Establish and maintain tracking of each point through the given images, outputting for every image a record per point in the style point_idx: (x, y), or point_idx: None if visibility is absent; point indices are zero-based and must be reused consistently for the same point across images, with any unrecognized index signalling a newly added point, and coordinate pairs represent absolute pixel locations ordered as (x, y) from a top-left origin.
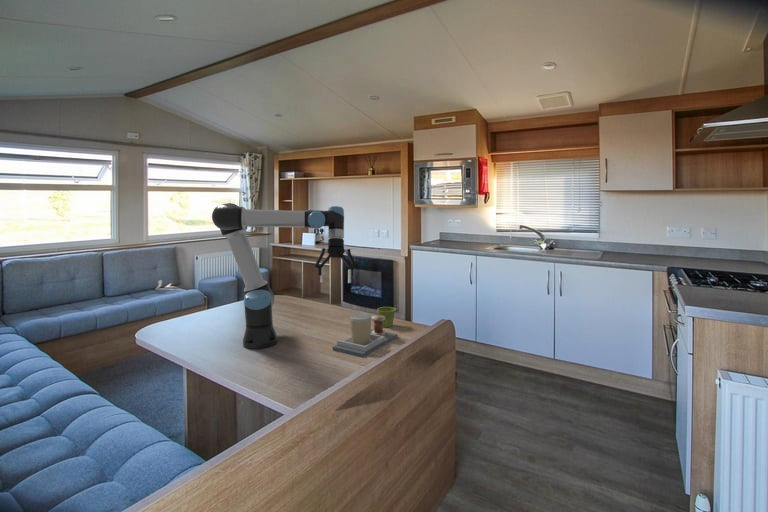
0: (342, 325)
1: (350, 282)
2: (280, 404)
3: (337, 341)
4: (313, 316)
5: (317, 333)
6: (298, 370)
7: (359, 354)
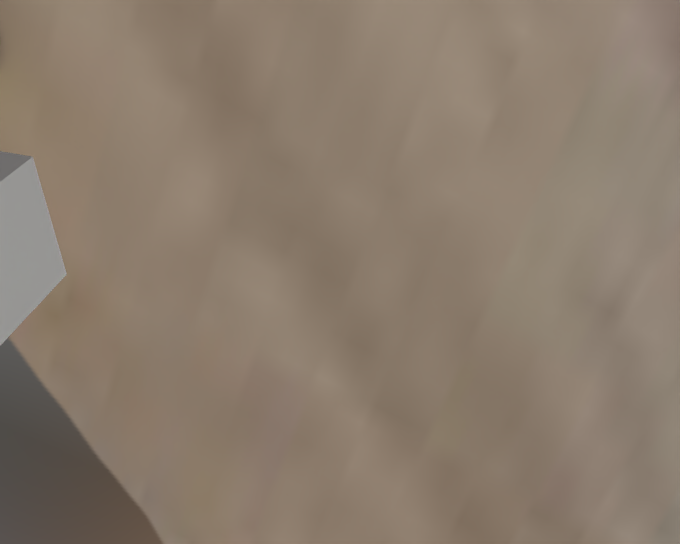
0: (310, 233)
1: (3, 156)
2: None
3: None
4: (439, 530)
5: (590, 136)
6: None
7: None
